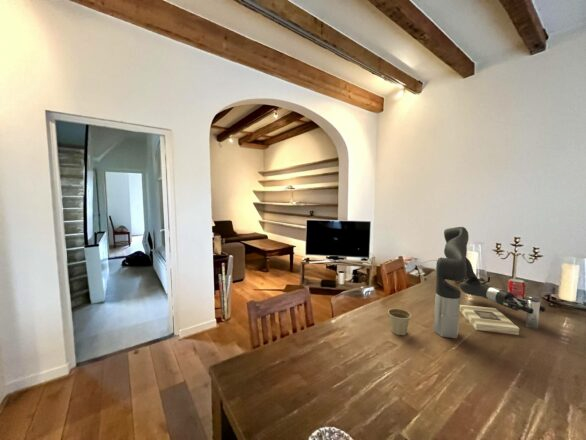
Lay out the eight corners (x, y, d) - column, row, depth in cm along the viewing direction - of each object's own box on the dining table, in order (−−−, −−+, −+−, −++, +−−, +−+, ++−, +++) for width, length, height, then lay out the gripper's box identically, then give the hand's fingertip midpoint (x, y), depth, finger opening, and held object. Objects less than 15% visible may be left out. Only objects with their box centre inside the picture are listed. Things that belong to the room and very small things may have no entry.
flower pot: (386, 334, 108) (386, 315, 107) (388, 324, 117) (389, 306, 116) (409, 340, 104) (410, 320, 103) (410, 329, 112) (411, 311, 111)
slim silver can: (541, 329, 112) (544, 299, 110) (528, 328, 113) (531, 298, 112) (534, 324, 116) (537, 295, 115) (522, 323, 117) (525, 294, 116)
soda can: (527, 305, 137) (529, 282, 135) (514, 305, 137) (516, 282, 136) (516, 300, 144) (517, 278, 142) (503, 299, 144) (505, 278, 143)
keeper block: (518, 334, 108) (519, 327, 107) (476, 329, 112) (476, 322, 112) (494, 313, 127) (495, 307, 126) (459, 310, 131) (459, 304, 131)
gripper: (490, 290, 125) (528, 304, 109) (511, 288, 129) (551, 301, 113) (489, 305, 126) (526, 320, 110) (510, 302, 130) (549, 316, 114)
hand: (538, 310), depth 112 cm, fingers open, 7 cm apart
